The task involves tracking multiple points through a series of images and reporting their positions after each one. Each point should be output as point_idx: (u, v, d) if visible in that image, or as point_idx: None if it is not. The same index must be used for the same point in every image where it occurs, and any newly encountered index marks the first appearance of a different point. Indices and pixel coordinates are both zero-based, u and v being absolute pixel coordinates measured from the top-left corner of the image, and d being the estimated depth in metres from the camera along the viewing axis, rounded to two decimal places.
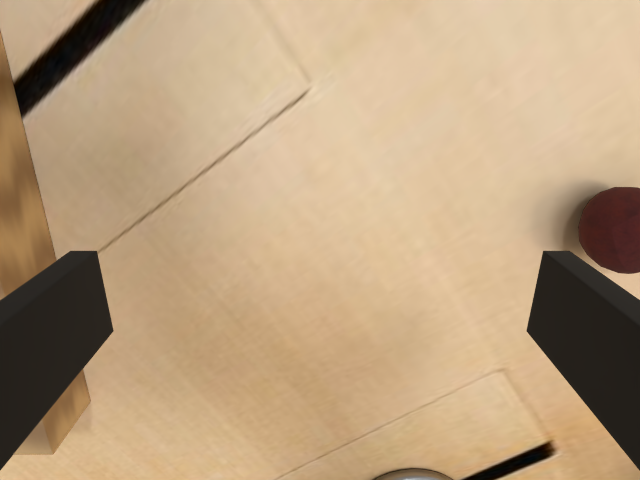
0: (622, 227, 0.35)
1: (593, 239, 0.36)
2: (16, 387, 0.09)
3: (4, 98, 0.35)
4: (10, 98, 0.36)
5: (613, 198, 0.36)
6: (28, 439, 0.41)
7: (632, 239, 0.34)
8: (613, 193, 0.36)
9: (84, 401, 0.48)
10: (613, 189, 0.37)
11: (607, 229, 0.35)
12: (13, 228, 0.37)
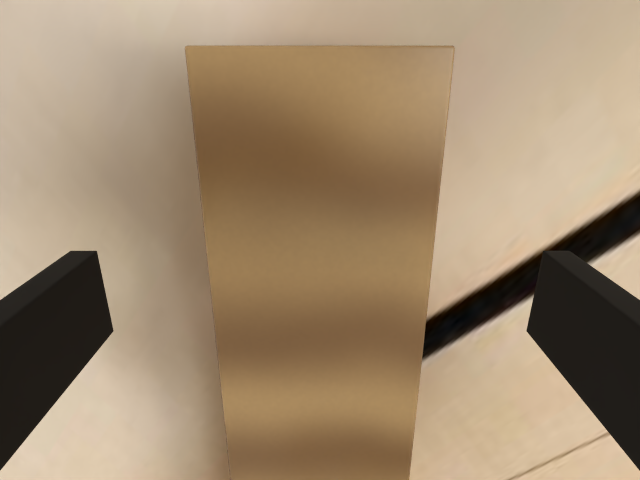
0: None
1: None
2: (16, 387, 0.09)
3: None
4: None
5: None
6: None
7: None
8: None
9: None
10: None
11: None
12: None
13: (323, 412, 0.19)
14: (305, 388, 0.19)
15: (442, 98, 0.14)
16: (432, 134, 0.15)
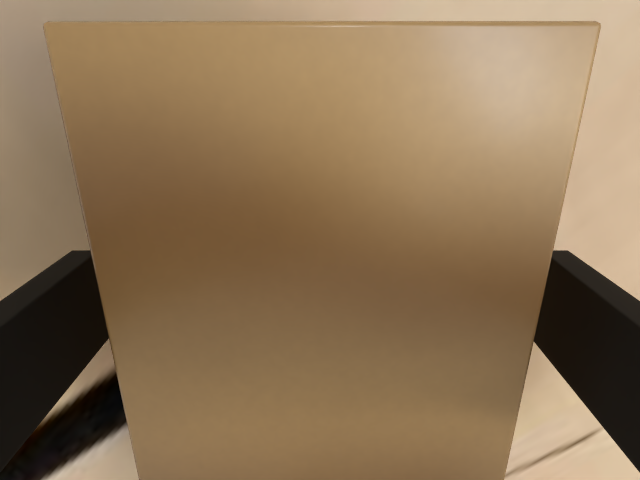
0: None
1: None
2: (19, 386, 0.09)
3: None
4: None
5: None
6: None
7: None
8: None
9: None
10: None
11: None
12: None
13: None
14: None
15: (565, 128, 0.07)
16: (540, 196, 0.08)
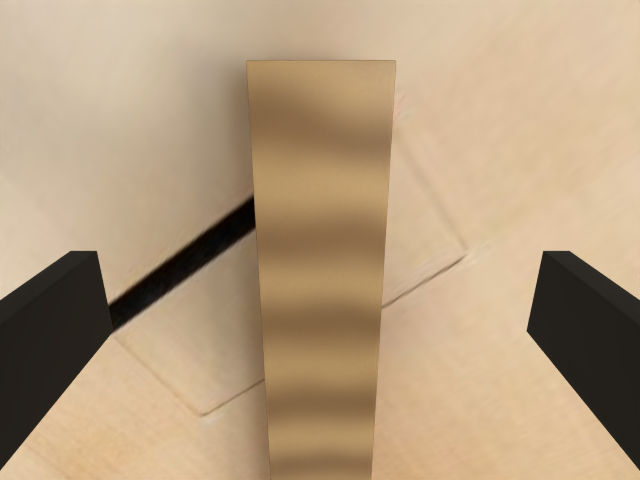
0: None
1: None
2: (16, 387, 0.09)
3: None
4: None
5: None
6: None
7: None
8: None
9: None
10: None
11: None
12: None
13: (323, 290, 0.31)
14: (311, 273, 0.30)
15: (390, 90, 0.26)
16: (385, 110, 0.26)
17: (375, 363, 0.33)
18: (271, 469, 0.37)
